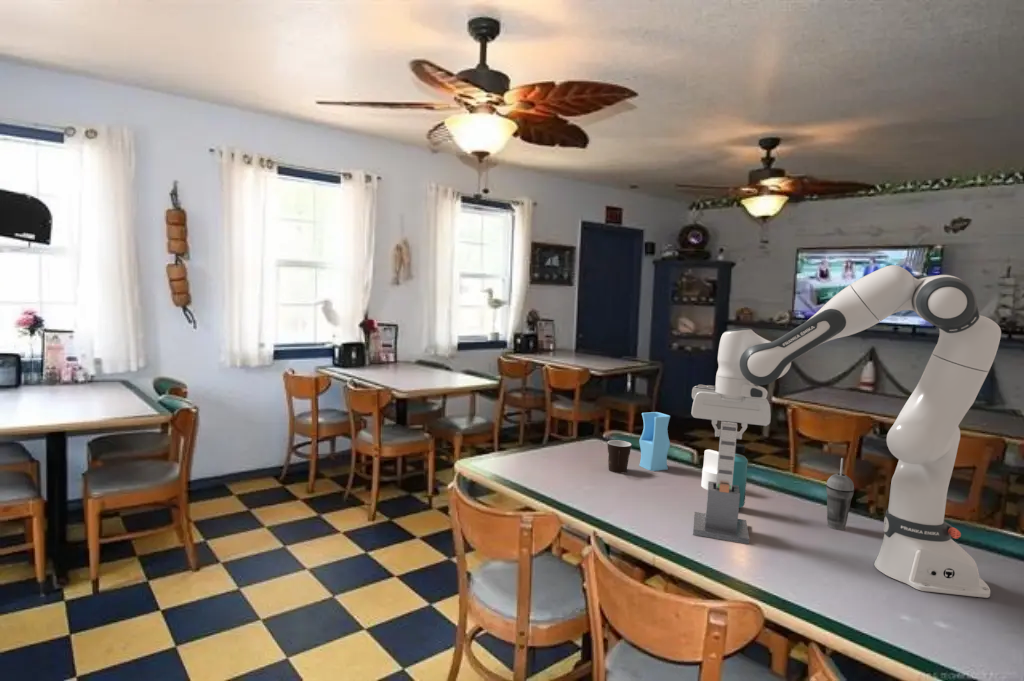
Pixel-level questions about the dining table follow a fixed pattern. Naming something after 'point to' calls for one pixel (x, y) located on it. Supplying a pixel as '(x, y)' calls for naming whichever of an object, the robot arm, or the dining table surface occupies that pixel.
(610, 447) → the coffee mug
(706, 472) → the white cylinder
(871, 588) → the dining table surface
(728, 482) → the column
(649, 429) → the vase
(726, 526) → the stand
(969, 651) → the dining table surface
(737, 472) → the beverage bottle
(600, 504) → the dining table surface
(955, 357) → the robot arm
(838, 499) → the beverage cup
